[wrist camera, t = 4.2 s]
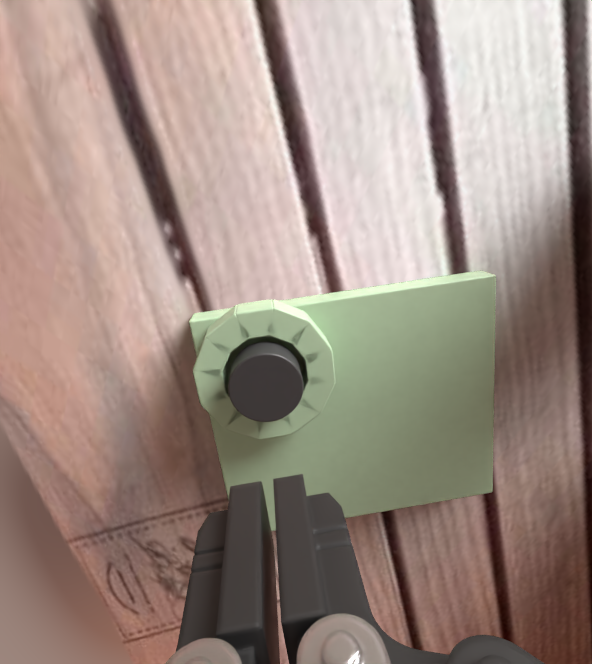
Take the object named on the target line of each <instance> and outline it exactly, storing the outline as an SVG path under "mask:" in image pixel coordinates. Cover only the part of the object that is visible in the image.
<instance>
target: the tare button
mask: <svg viewBox="0 0 592 664" xmlns="http://www.w3.org/2000/svg"><path fill="white" fill-rule="evenodd" d="M303 389H304V385H303V378H302V374H301V370H300V367H299V363H298V361H297V359H296V357H295V356H294V354H293V353H292V352H291V351H290V350H289V349H287V348H286V347H284V346H283V345H280V344H278V343H275V342H266V341H264V342H257V343H254V344H251V345H249V346H247V347H245V348H244V349H243V350H241V351H240V352H239V353H238V355H237V356H236V357H235V359H234V361H233V363H232V366H231V371H230V377H229V383H228V393H229V397H230V400H231V402H232V404H233V406H234V407H235V408H236V410H237V411H238V412H240V413H241V414H242V415H243V416H245V417H247V418H249V419H251V420H254V421H259V422H272V421H276V420H279V419H282V418H284V417H286V416H287V415H289V414H290V413H291V412H292V411H293V410H294V409H295V408H296V407H297V406H298V404H299V402H300V400H301V398H302V395H303Z"/></svg>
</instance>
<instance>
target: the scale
mask: <svg viewBox="0 0 592 664" xmlns="http://www.w3.org/2000/svg"><path fill="white" fill-rule="evenodd" d="M495 301H496V276H495V275H493V274H490V273H487V272H483V271H474V272H467V273H460V274H454V275H447V276H441V277H434V278H427V279H421V280H414V281H407V282H401V283H394V284H388V285H381V286H374V287H368V288H361V289H354V290H348V291H341V292H334V293H328V294H321V295H315V296H308V297H301V298H295V299H288V300H281V301H276V300H274V299H273V300H271V299H270V300H263V301H257V302H250V303H243V304H238V305H235V306H234V307H233V308H228V309H222V310H215V311H208V312H202V313H195V314H193V316H192V318H191V319H190V321H189V325H190V329H191V334H192V338H193V343H194V347H195V352H196V356H197V359H196V362H195V365H194V367H193V375H194V380H195V384H196V388H197V393H198V397H199V402H200V404H201V406H202V407H203V408H204V409H205V410H206V411H207V412H208V413H209V415H210V420H211V424H212V429H213V433H214V438H215V442H216V447H217V451H218V456H219V460H220V465H221V469H222V474H223V478H224V483H225V487H226V492H227V496H228V501H229V493H230V487H231V486H235V485H240V484H246V483H252V482H258V481H261V482H262V485H263V490H264V495H265V500H266V506H267V511H268V516H269V522H270V527H271V531H275V530H276V521H275V504H274V486H273V479H275V478H281V477H287V476H293V475H299V474H303V478H304V484H305V490H306V495H307V496H310V495H316V494H322V493H328V492H329V494H330V495H331V496H332V497H333V498H334V499H335V500H336V501H337V502H338V503H339V504H340V505H341V506H342V510H343V513H344V517H345V518H349V517H355V516H361V515H366V514H372V513H378V512H383V511H389V510H395V509H400V508H406V507H412V506H418V505H423V504H429V503H435V502H440V501H446V500H452V499H457V498H463V497H469V496H474V495H480V494H486V493H491V492H492V491H493V428H494V364H495ZM264 341H266V342H275V343H278V344H280V345H283V346H284V347H286V348H287V349H289V350H290V351H291V352H292V353H293V354H294V356H295V357H296V359H297V361H298V363H299V367H300V370H301V374H302V378H303V385H304V389H303V395H302V398H301V400H300V402H299V404H298V406H297V407H296V408H295V409H294V410H293V411H292V412H291V413H290V414H289V415H287V416H286V417H284V418H282V419H279V420H276V421H272V422H259V421H254V420H251V419H249V418H247V417H245V416H243V415H242V414H241V413H240V412H238V411H237V410H236V408H235V407H234V406H233V404H232V402H231V400H230V397H229V393H228V383H229V377H230V371H231V366H232V363H233V361H234V359H235V357H236V356H237V355H238V353H239V352H240V351H241V350H243V349H244V348H245V347H247V346H249V345H251V344H254V343H257V342H264Z"/></svg>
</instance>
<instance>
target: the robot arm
mask: <svg viewBox="0 0 592 664" xmlns="http://www.w3.org/2000/svg"><path fill="white" fill-rule="evenodd" d="M273 486H274V504H275V521H276V538H277V556H278V573H279V590H280V608H281V623H282V628H283V633H284V639H285V644H286V649H287V654H288V659H289V664H545V663H543V662H541V661H540V660H538V659H537V658H535V657H534V656H532V655H531V654H529V653H528V652H526V651H525V650H523V649H522V648H520V647H519V646H517V645H515V644H514V643H512V642H510V641H507V640H505V639H503V638H499V637H495V636H490V635H476V636H472V637H468V638H466V639H464V640H462V641H461V642H459V643H458V644H457V645H456V646H455V647H454V648H453V650H452V651H451V653H450V655H446V654H440V653H434V652H428V651H422V650H417V649H413V648H410V647H407V646H405V645H402V644H400V643H399V642H397V641H395V640H394V639H392V638H391V637H390V636H388V635H387V634H386V633H385V632H384V631H383V630H382V629H381V628H380V626H379V625H378V624H377V622H376V621H375V619H374V617H373V615H372V613H371V610H370V607H369V603H368V600H367V596H366V593H365V589H364V585H363V582H362V578H361V575H360V571H359V567H358V564H357V560H356V557H355V553H354V549H353V546H352V543H351V539H350V535H349V531H348V529H347V524H346V521H345V517H344V513H343V510H342V506H341V505H340V504H339V503H338V502H337V501H336V500H335V499H334V498H333V497H332V496H331V495H330V494H329V492H328V493H322V494H316V495H310V496H307V495H306V490H305V484H304V478H303V474H299V475H293V476H287V477H281V478H275V479H273ZM194 553H195V556H194V557H193V562H192V568H191V574H190V579H189V584H188V590H187V596H186V601H185V607H184V612H183V618H182V623H181V629H180V634H179V640H178V645H177V649H176V653H175V654H173V655H172V656H171V657H170V658H169V660H168V661H167V662H166V663H165V664H280V655H279V635H278V615H277V595H276V574H275V556H274V547H273V539H272V532H271V527H270V522H269V516H268V511H267V506H266V500H265V495H264V490H263V485H262V482H261V481H258V482H252V483H246V484H240V485H235V486H231V487H230V493H229V504H228V510H224V511H218V512H212V513H210V514H209V515H208V517H207V519H206V520H205V522H204V523H203V525H202V526H201V528H200V529H199V531H198V534H197V540H196V546H195V551H194Z"/></svg>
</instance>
